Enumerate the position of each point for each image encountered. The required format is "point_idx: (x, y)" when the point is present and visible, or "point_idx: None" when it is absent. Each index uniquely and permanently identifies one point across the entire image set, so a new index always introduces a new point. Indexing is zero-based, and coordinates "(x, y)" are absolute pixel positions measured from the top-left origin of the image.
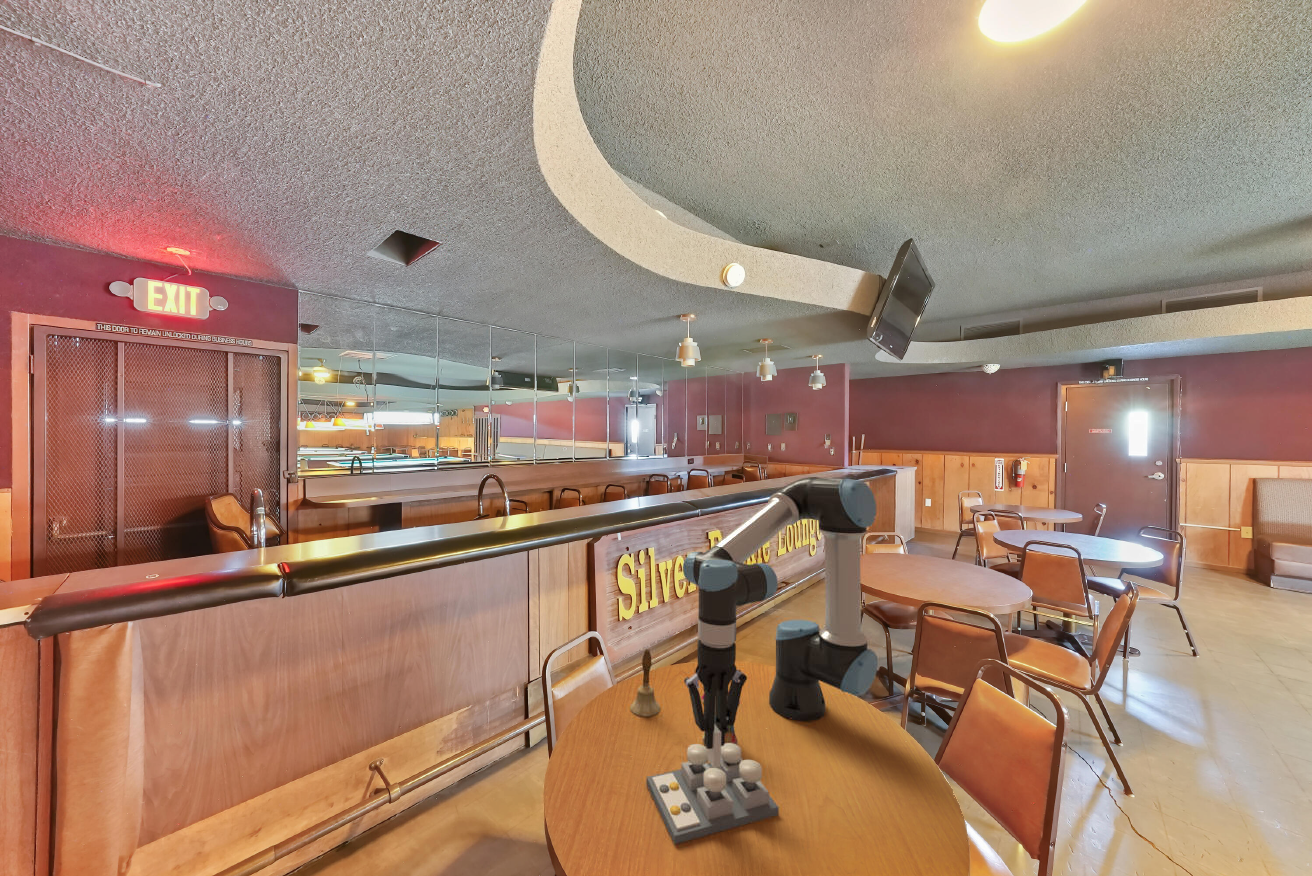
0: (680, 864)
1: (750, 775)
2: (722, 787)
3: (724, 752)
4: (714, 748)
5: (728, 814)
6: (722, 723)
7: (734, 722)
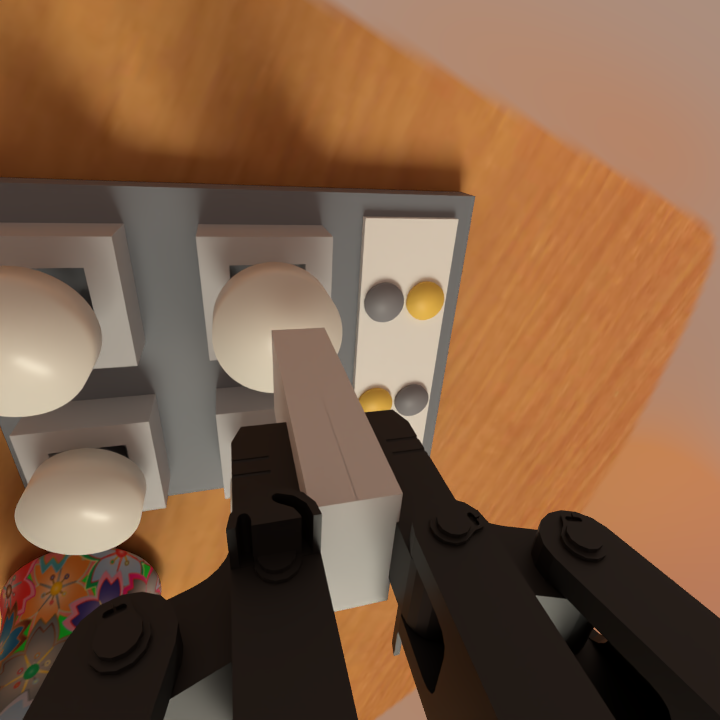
0: (485, 99)
1: (33, 289)
2: (258, 268)
3: (129, 499)
4: (355, 396)
5: (221, 224)
6: (308, 617)
7: (60, 650)
